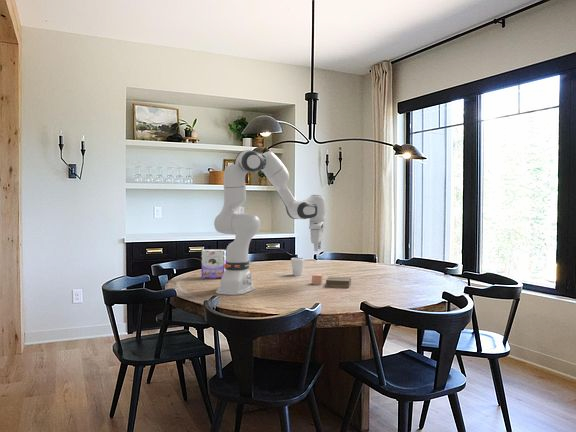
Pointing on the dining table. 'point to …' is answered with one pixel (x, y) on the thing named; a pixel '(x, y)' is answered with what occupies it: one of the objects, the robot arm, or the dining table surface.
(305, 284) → the dining table surface
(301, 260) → the dixie cup
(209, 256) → the candy box
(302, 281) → the dining table surface
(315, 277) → the terracotta cube
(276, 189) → the robot arm
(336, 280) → the walnut block
